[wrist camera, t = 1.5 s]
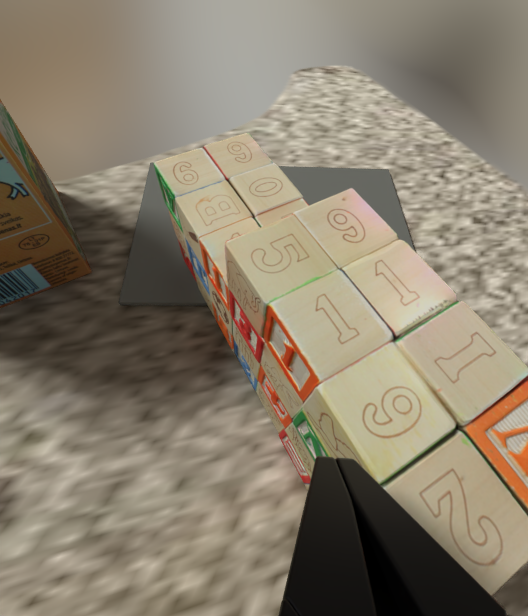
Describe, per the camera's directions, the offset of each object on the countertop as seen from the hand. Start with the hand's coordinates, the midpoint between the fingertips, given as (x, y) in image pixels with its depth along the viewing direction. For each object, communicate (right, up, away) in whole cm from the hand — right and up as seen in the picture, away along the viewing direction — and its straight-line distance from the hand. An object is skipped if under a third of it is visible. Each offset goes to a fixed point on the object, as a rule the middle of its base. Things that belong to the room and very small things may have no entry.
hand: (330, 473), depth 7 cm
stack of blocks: (0, 0, +16) cm, 16 cm away
